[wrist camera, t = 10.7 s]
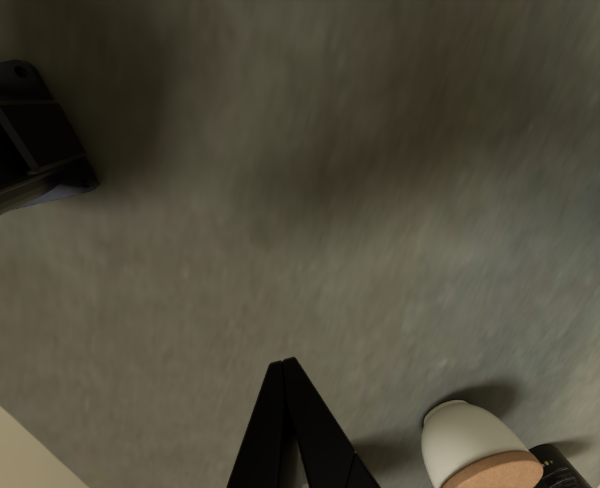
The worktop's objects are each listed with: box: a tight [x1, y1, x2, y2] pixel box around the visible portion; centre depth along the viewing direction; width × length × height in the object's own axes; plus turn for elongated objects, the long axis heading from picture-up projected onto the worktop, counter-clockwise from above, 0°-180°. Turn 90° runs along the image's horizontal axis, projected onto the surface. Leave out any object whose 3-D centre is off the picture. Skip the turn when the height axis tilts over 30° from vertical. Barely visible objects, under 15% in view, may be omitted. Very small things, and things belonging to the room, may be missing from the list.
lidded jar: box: [421, 400, 543, 488], centre depth 31 cm, size 11×11×9 cm
